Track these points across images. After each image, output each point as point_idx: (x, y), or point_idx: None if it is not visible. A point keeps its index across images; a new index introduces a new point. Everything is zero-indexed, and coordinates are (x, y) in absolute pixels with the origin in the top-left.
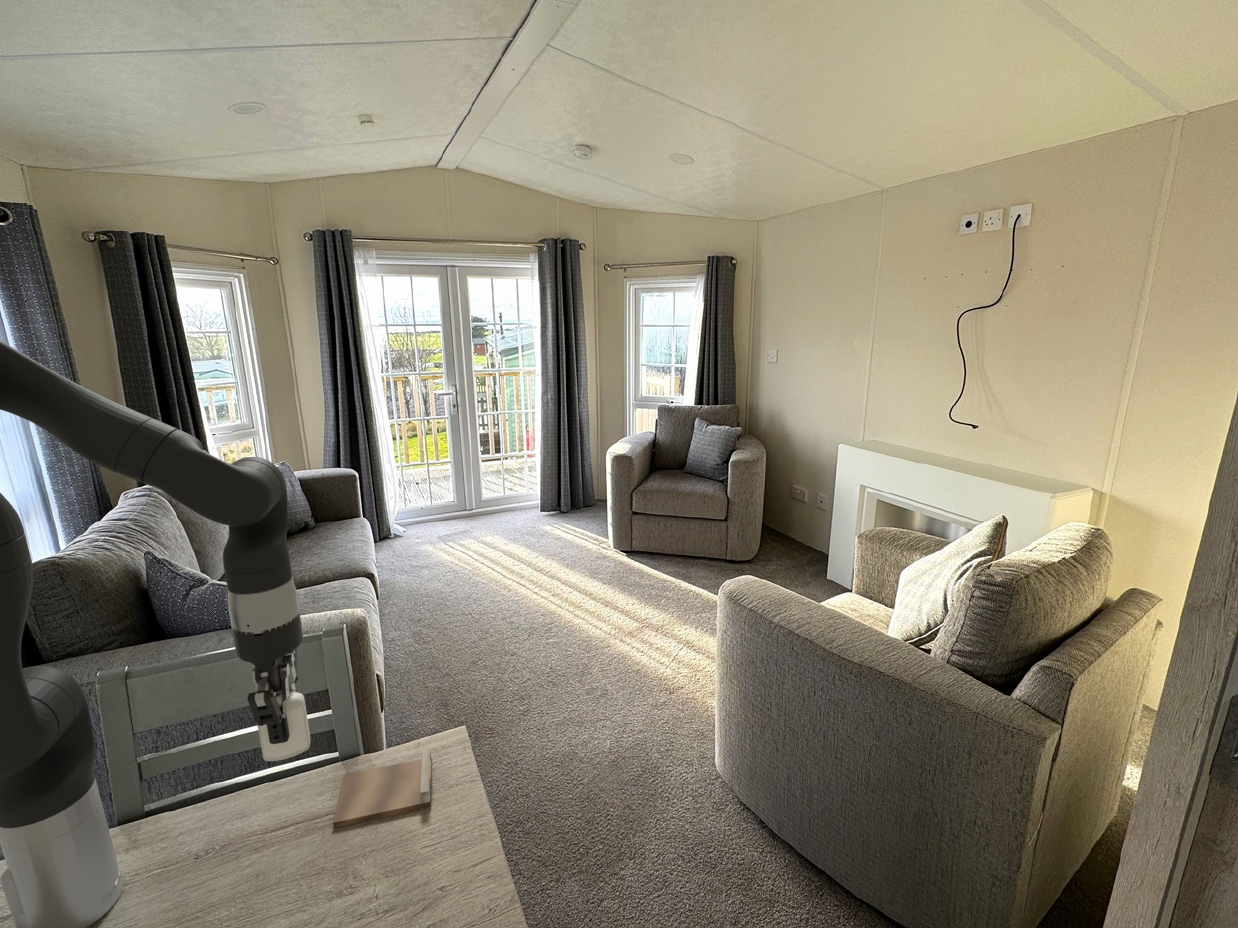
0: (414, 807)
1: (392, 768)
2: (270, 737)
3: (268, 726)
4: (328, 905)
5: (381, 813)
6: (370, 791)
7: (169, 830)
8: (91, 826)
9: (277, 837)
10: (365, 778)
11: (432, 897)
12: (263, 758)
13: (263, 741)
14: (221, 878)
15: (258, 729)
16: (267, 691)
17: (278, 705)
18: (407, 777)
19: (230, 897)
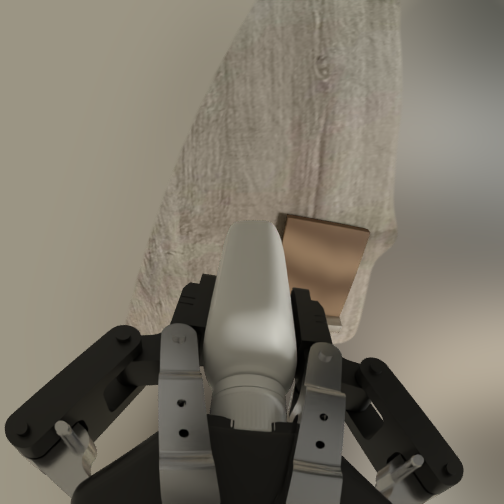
0: None
1: (345, 285)
2: (181, 294)
3: (192, 310)
4: (174, 209)
5: None
6: (319, 260)
7: (383, 30)
8: None
9: (306, 148)
10: (347, 256)
11: (152, 295)
12: (234, 222)
13: (224, 254)
14: (267, 88)
15: (227, 267)
16: (40, 470)
17: (116, 416)
18: (318, 299)
19: (230, 103)
